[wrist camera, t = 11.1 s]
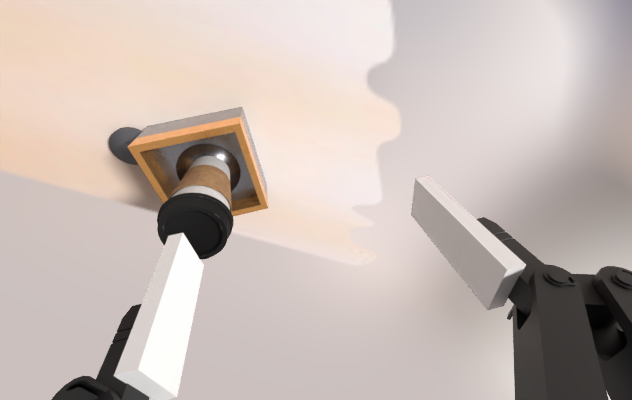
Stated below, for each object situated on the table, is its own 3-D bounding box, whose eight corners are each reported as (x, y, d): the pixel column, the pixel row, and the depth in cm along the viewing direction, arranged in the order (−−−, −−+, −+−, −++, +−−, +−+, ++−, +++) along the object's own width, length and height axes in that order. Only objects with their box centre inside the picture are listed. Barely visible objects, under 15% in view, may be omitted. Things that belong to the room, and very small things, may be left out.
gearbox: (147, 126, 40) (127, 146, 34) (242, 106, 41) (240, 123, 35) (189, 201, 49) (179, 228, 43) (266, 183, 50) (268, 208, 44)
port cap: (103, 130, 40) (97, 136, 38) (143, 123, 40) (138, 128, 38) (126, 164, 43) (120, 170, 42) (162, 157, 44) (158, 163, 42)
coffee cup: (193, 198, 43) (170, 267, 31) (172, 152, 38) (135, 214, 26) (244, 189, 44) (240, 253, 32) (229, 143, 39) (219, 199, 27)
